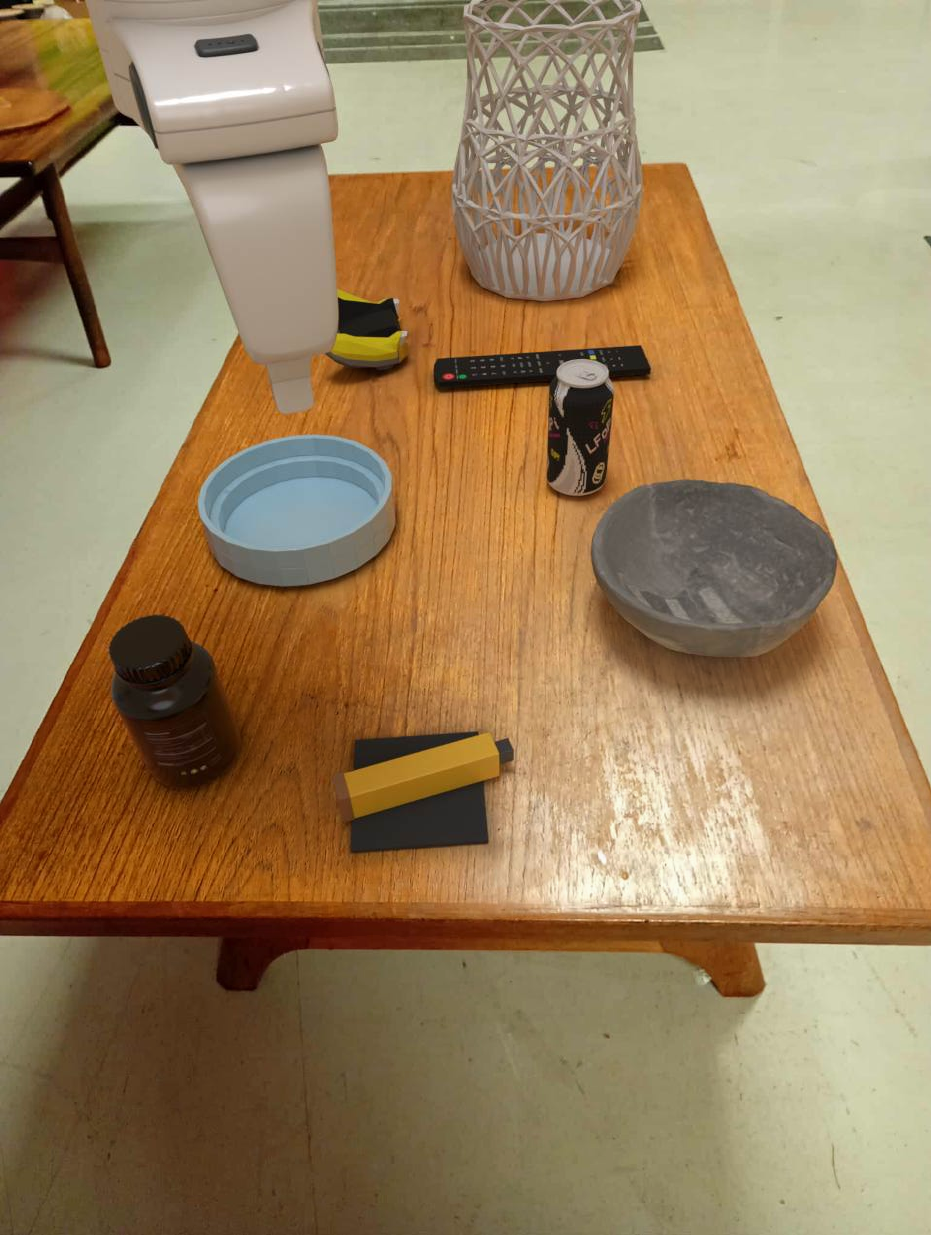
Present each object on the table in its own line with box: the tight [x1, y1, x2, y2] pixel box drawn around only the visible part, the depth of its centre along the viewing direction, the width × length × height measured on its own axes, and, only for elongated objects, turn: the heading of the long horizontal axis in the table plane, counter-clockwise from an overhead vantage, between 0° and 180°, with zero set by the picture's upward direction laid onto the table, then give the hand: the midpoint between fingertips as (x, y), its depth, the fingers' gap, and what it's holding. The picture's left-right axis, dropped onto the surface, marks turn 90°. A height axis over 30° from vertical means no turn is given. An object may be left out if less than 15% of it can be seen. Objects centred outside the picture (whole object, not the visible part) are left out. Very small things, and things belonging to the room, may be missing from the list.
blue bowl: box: [196, 434, 397, 587], centre depth 81 cm, size 17×17×4 cm
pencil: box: [331, 732, 515, 823], centre depth 60 cm, size 12×2×3 cm, turn 108°
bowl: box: [590, 478, 838, 658], centre depth 70 cm, size 18×18×8 cm
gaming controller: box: [324, 288, 410, 371], centre depth 104 cm, size 15×6×10 cm
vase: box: [451, 0, 643, 302], centre depth 110 cm, size 24×24×30 cm
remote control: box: [432, 344, 652, 389], centre depth 100 cm, size 5×24×1 cm, turn 94°
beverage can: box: [545, 359, 615, 497], centre depth 81 cm, size 6×6×12 cm
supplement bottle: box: [108, 614, 242, 790], centre depth 60 cm, size 7×7×12 cm
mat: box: [350, 730, 489, 854], centre depth 61 cm, size 9×9×1 cm
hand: (277, 360), depth 46 cm, fingers open, 8 cm apart
